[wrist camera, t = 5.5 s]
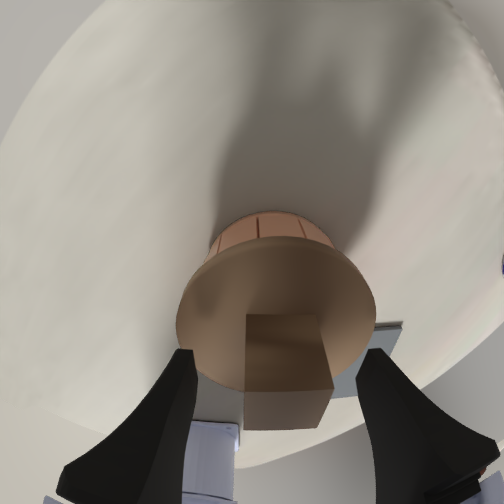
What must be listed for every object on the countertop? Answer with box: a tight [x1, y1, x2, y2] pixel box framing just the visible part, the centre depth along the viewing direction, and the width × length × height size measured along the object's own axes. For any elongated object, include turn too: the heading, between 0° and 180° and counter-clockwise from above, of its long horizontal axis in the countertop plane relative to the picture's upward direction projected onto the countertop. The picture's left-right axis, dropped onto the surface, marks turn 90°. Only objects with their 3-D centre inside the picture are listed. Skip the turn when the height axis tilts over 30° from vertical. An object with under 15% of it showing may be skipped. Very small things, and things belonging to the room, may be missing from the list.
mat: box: [331, 326, 402, 399], centre depth 22 cm, size 9×9×1 cm
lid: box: [176, 236, 376, 430], centre depth 11 cm, size 9×9×5 cm
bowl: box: [204, 211, 335, 263], centre depth 15 cm, size 8×8×4 cm
